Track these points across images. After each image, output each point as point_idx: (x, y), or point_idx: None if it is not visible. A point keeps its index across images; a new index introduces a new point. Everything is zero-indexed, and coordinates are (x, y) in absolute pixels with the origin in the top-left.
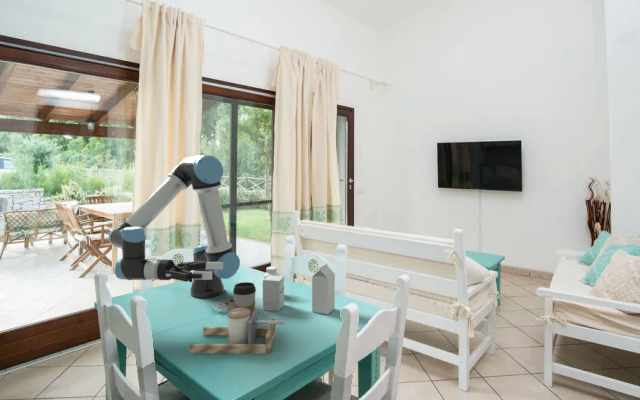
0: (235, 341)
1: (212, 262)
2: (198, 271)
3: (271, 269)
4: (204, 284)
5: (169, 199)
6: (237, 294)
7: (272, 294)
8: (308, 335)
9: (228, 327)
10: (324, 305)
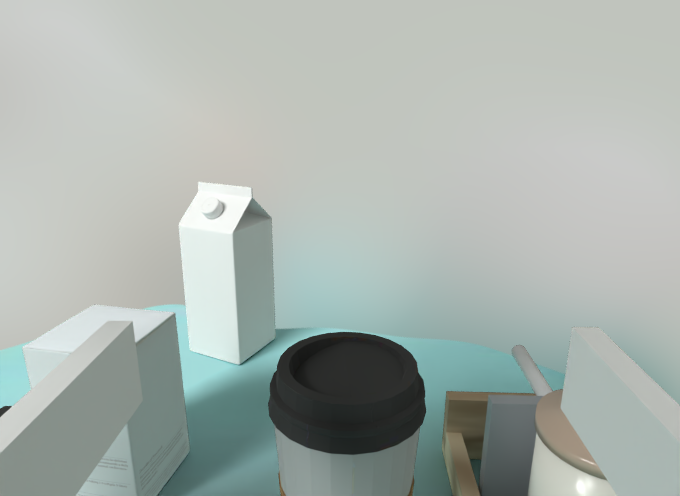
0: None
1: (56, 396)
2: (676, 431)
3: None
4: None
5: None
6: (421, 422)
7: (166, 399)
8: (432, 374)
9: None
10: (267, 316)
